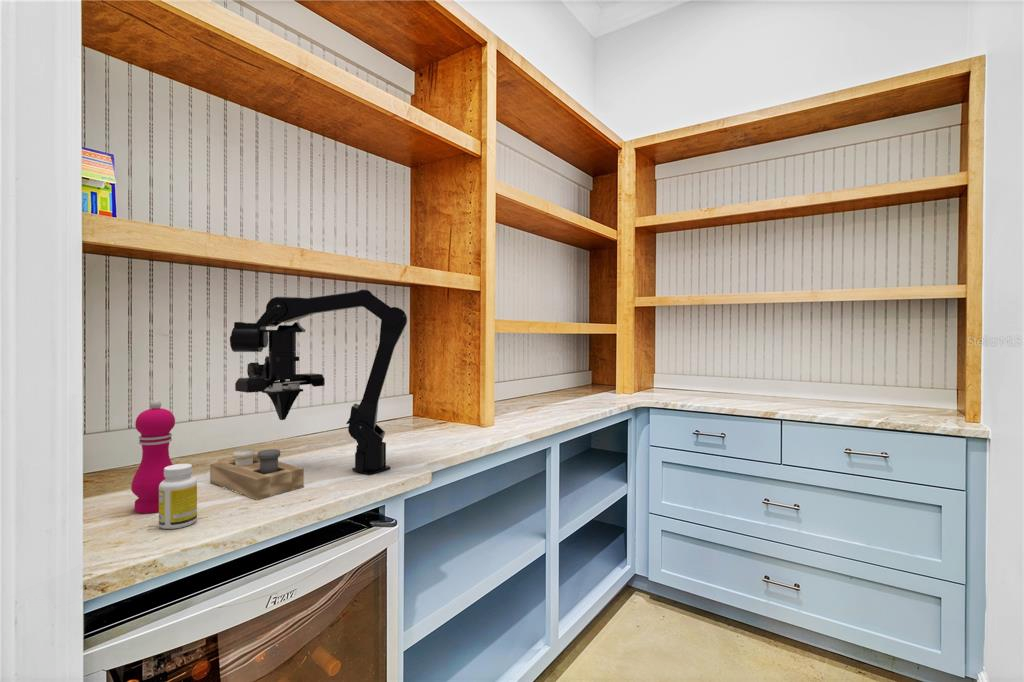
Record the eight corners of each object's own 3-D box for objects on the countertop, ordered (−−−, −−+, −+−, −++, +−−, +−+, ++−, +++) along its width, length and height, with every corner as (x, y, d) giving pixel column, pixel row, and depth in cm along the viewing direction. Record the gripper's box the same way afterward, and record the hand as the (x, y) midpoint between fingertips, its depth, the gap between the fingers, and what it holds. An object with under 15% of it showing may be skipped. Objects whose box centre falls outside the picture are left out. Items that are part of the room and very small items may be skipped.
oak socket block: (255, 472, 116) (255, 455, 116) (303, 487, 105) (303, 468, 105) (210, 482, 108) (210, 464, 107) (256, 500, 97) (256, 479, 97)
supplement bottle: (204, 518, 87) (204, 462, 87) (182, 530, 82) (182, 471, 82) (174, 517, 87) (174, 462, 87) (150, 529, 82) (150, 470, 82)
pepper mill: (183, 507, 92) (182, 400, 92) (134, 517, 87) (134, 404, 87) (174, 498, 97) (174, 396, 97) (128, 507, 92) (128, 399, 92)
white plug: (248, 474, 112) (248, 448, 112) (258, 477, 110) (258, 451, 109) (229, 478, 109) (229, 451, 108) (239, 481, 106) (239, 454, 106)
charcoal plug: (273, 475, 106) (273, 448, 106) (284, 478, 104) (284, 451, 104) (253, 480, 103) (253, 452, 103) (264, 483, 100) (264, 455, 100)
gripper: (299, 350, 127) (299, 411, 127) (222, 352, 111) (222, 421, 111) (326, 351, 120) (326, 415, 120) (248, 353, 105) (248, 427, 105)
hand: (282, 419), depth 115 cm, fingers closed
